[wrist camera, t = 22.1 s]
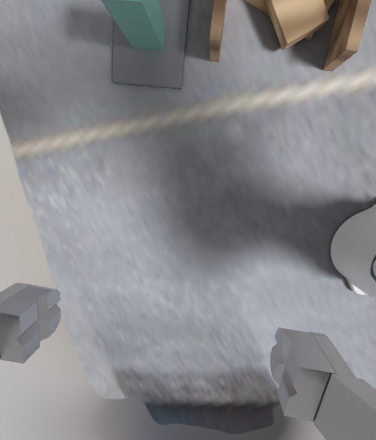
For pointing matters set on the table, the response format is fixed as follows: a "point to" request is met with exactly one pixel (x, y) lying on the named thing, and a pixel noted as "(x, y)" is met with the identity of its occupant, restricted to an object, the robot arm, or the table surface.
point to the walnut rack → (340, 38)
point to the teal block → (139, 22)
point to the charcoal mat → (154, 52)
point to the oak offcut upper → (296, 19)
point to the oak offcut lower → (259, 3)
